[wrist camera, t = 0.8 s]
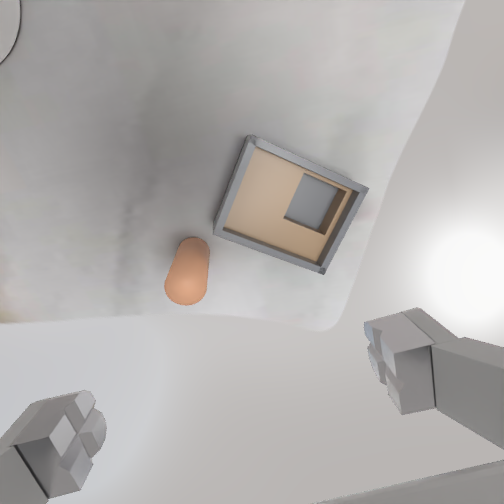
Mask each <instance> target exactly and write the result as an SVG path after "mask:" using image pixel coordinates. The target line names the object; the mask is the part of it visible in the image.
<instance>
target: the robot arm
mask: <svg viewBox="0 0 504 504" xmlns="http://www.w3.org/2000/svg"><path fill="white" fill-rule="evenodd" d="M19 23H20V1H19V0H0V62H1V61H3V59H4V58H5V57H6V56H7V55H8V53H9V52H10V50H11V48H12V47H13V44H14V42H15V40H16V37H17V33H18V29H19ZM364 330H365V335H366V337H367V338H368V340H369V341H370V345H369V346H368V354H369V359H370V362H371V365H372V368H373V370H374V372H375V374H376V376H377V378H378V379H379V381H380V382H381V383H383V384H385V385H387V388H388V395H389V396H390V398H391V399H392V401H393V402H394V404H395V405H396V407H397V408H398V410H399V411H400V413H401V414H402V415H405V414H410V413H414V412H419V411H424V410H429V409H434V408H437V410H438V411H440V412H441V413H443V414H445V415H446V416H448V417H450V418H451V419H453V420H455V421H457V422H458V423H460V424H462V425H463V426H465V427H467V428H469V429H470V430H472V431H473V432H475V433H477V434H479V435H480V436H482V437H484V438H485V439H487V440H488V441H490V442H492V443H493V444H495V445H497V446H498V447H500V448H502V449H504V347H500V346H496V345H493V344H489V343H485V342H481V341H478V340H474V339H470V338H466V337H464V338H458V337H456V336H455V335H454V334H453V333H451V332H450V331H449V330H448V329H446V328H445V327H444V326H442V325H441V324H440V323H439V322H437V321H436V320H435V319H433V318H432V317H431V316H430V315H428V314H427V313H426V312H424V311H423V310H422V309H420V308H413V309H410V310H406V311H403V312H400V313H397V314H393V315H389V316H386V317H382V318H378V319H374V320H370V321H366V322H364ZM95 401H96V400H95V399H94V397H93V395H92V393H91V392H90V391H86V390H83V391H79V392H74V393H70V394H66V395H61V396H57V397H53V398H48V399H44V400H40V401H36V402H34V403H32V404H30V405H29V406H28V408H27V409H26V410H25V411H24V412H23V413H22V414H21V416H20V417H19V418H18V419H17V420H16V421H15V422H14V423H13V425H12V426H11V427H10V428H9V429H8V430H7V431H6V433H5V434H4V435H3V436H2V437H1V438H0V504H46V503H47V502H48V499H50V498H54V497H57V496H61V495H65V494H69V493H73V492H76V491H80V490H81V488H82V486H83V484H84V482H85V480H86V478H87V476H88V474H89V472H90V470H91V468H92V466H93V463H92V457H93V456H94V455H95V454H96V453H97V452H98V451H99V450H100V449H101V447H102V445H103V443H104V441H105V436H106V429H107V428H106V422H105V418H104V416H103V414H102V413H101V412H100V411H98V410H96V409H95V408H94V405H95ZM311 504H504V460H501V461H497V462H492V463H488V464H483V465H479V466H474V467H470V468H466V469H461V470H457V471H452V472H448V473H444V474H439V475H435V476H430V477H426V478H422V479H417V480H413V481H409V482H404V483H400V484H395V485H391V486H386V487H382V488H377V489H373V490H369V491H364V492H360V493H356V494H351V495H347V496H342V497H338V498H334V499H329V500H324V501H320V502H316V503H311Z"/></svg>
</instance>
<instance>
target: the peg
mask: <svg viewBox="0 0 504 504" xmlns="http://www.w3.org/2000/svg"><path fill="white" fill-rule="evenodd" d="M209 254H210V251H209V247H208V245H207V244H206V242H205V241H203V240H202V239H200V238H196V237H191V238H187V239H185V240H184V241H182V242H181V244H180V245H179V247H178V250H177V252H176V255H175V258H174V260H173V263H172V265H171V268H170V270H169V273H168V275H167V278H166V280H165V285H164V288H165V292H166V294H167V296H168V297H169V298H170V299H171V300H172V301H173V302H175V303H177V304H180V305H192V304H195V303H197V302H199V301H200V300H201V299H202V298H203V297H204V295H205V293H206V289H207V278H208V266H209Z"/></svg>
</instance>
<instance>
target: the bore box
mask: <svg viewBox="0 0 504 504" xmlns="http://www.w3.org/2000/svg"><path fill="white" fill-rule="evenodd" d="M368 190H369V188H368V187H365V186H363V185H361V184H359V183H357V182H354V181H352V180H350V179H348V178H346V177H344V176H341V175H339V174H337V173H335V172H333V171H330V170H328V169H326V168H324V167H322V166H320V165H317V164H315V163H313V162H311V161H309V160H306V159H304V158H302V157H300V156H298V155H296V154H293V153H291V152H289V151H287V150H285V149H282V148H280V147H278V146H276V145H274V144H272V143H269V142H267V141H265V140H263V139H261V138H258V137H256V136H254V135H249V136H247V138H246V140H245V143H244V146H243V148H242V151H241V153H240V156H239V158H238V161H237V164H236V166H235V169H234V171H233V174H232V177H231V179H230V182H229V184H228V187H227V190H226V192H225V195H224V197H223V200H222V203H221V205H220V208H219V210H218V213H217V215H216V218H215V221H214V224H213V235H216V236H218V237H221V238H224V239H227V240H229V241H232V242H235V243H238V244H240V245H243V246H246V247H249V248H251V249H254V250H257V251H260V252H262V253H265V254H268V255H270V256H273V257H276V258H279V259H281V260H284V261H287V262H290V263H292V264H295V265H298V266H301V267H303V268H306V269H309V270H312V271H314V272H317V273H320V274H322V275H324V274H325V272H326V270H327V268H328V266H329V264H330V262H331V260H332V258H333V257H334V255H335V253H336V251H337V249H338V247H339V245H340V243H341V241H342V239H343V238H344V236H345V234H346V232H347V230H348V228H349V226H350V224H351V222H352V220H353V218H354V217H355V215H356V213H357V211H358V209H359V207H360V205H361V203H362V201H363V199H364V198H365V196H366V194H367V192H368Z"/></svg>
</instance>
